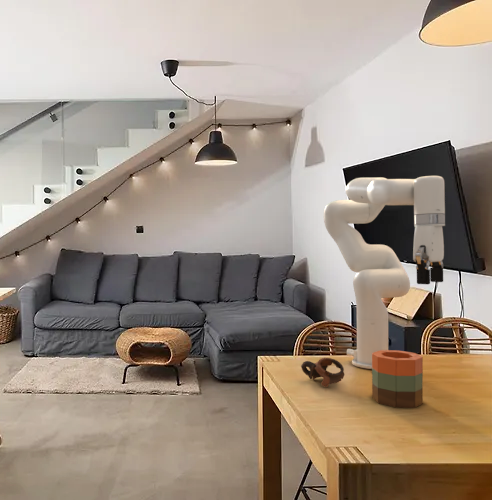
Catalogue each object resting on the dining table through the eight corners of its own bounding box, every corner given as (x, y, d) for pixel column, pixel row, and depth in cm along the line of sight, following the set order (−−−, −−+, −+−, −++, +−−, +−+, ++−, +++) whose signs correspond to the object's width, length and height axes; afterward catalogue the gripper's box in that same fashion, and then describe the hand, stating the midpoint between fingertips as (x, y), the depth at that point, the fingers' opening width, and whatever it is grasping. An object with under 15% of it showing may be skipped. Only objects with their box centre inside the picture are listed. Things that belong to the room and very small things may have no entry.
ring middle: (366, 385, 139) (365, 370, 139) (385, 377, 146) (385, 362, 146) (409, 394, 131) (409, 378, 131) (428, 385, 138) (428, 370, 138)
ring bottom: (366, 400, 139) (366, 385, 139) (385, 391, 146) (385, 377, 146) (409, 410, 131) (409, 394, 131) (428, 401, 138) (428, 385, 138)
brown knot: (340, 380, 160) (347, 360, 155) (337, 402, 152) (345, 381, 148) (299, 367, 163) (306, 347, 159) (295, 388, 156) (301, 368, 151)
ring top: (365, 370, 139) (365, 354, 139) (385, 362, 146) (385, 348, 146) (409, 378, 131) (409, 362, 130) (428, 370, 138) (428, 355, 137)
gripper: (426, 222, 156) (427, 280, 156) (402, 221, 144) (403, 284, 145) (455, 221, 150) (456, 281, 151) (432, 220, 139) (433, 285, 139)
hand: (430, 282), depth 148 cm, fingers open, 9 cm apart
